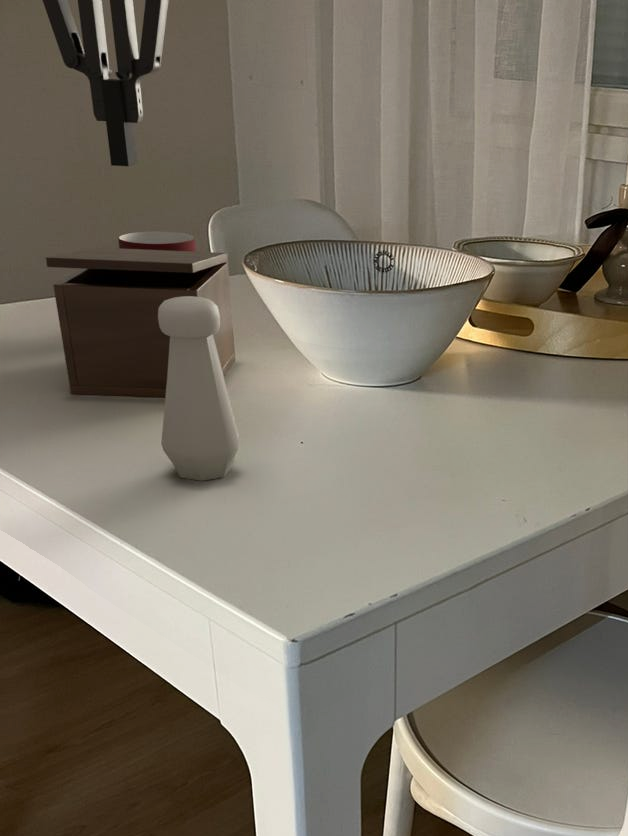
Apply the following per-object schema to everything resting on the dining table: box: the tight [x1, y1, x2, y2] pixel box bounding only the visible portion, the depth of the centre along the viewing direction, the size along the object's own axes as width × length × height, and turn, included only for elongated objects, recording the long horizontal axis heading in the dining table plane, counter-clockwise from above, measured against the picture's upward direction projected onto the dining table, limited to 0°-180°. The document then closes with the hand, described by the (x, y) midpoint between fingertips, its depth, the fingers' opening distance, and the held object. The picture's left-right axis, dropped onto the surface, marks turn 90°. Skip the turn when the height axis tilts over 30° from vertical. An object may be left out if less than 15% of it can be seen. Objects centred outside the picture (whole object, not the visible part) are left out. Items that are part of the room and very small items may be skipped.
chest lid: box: [45, 247, 229, 273], centre depth 95 cm, size 14×13×1 cm
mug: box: [117, 231, 197, 252], centre depth 115 cm, size 10×8×10 cm
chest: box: [53, 261, 236, 398], centre depth 99 cm, size 14×13×10 cm
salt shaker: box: [158, 296, 240, 482], centre depth 77 cm, size 6×6×13 cm
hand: (124, 164), depth 90 cm, fingers closed
